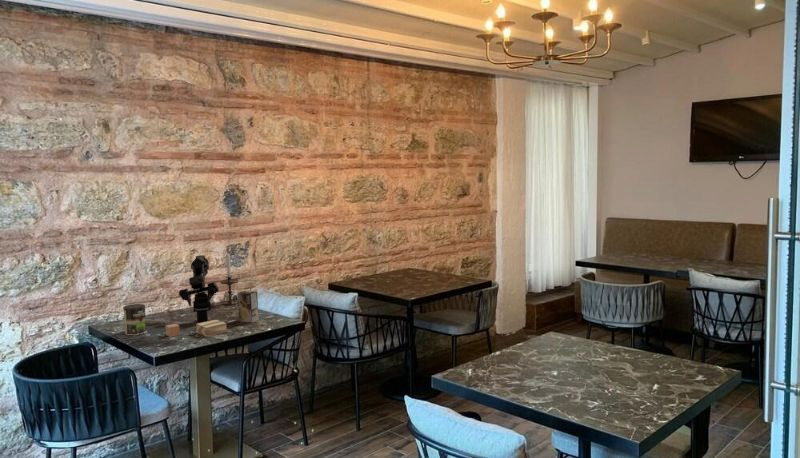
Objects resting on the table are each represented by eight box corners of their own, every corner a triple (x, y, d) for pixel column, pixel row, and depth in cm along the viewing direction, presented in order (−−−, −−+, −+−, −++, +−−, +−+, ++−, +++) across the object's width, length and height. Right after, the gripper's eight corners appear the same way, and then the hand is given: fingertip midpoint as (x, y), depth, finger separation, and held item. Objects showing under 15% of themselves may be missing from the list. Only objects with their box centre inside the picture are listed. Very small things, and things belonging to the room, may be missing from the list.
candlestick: (234, 305, 354) (231, 249, 350) (218, 305, 356) (215, 249, 352) (242, 301, 365) (239, 247, 361) (226, 301, 367) (223, 246, 363)
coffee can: (151, 331, 300) (149, 305, 298) (132, 336, 291) (131, 309, 290) (138, 329, 305) (137, 302, 304) (120, 333, 296) (118, 307, 295)
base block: (196, 333, 297) (196, 323, 296) (216, 328, 305) (216, 319, 304) (206, 337, 289) (206, 327, 289) (226, 332, 297) (226, 323, 296)
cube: (166, 335, 293) (165, 325, 293) (175, 333, 297) (175, 323, 296) (170, 337, 290) (169, 327, 289) (179, 335, 293) (179, 325, 293)
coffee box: (259, 319, 320) (258, 291, 319) (252, 322, 314) (251, 293, 313) (245, 318, 324) (244, 290, 322) (238, 321, 318) (237, 292, 316)
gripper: (175, 275, 295) (174, 299, 285) (211, 266, 297) (211, 290, 287) (183, 287, 304) (182, 311, 294) (218, 279, 305) (219, 303, 295)
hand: (199, 304), depth 292 cm, fingers open, 9 cm apart
